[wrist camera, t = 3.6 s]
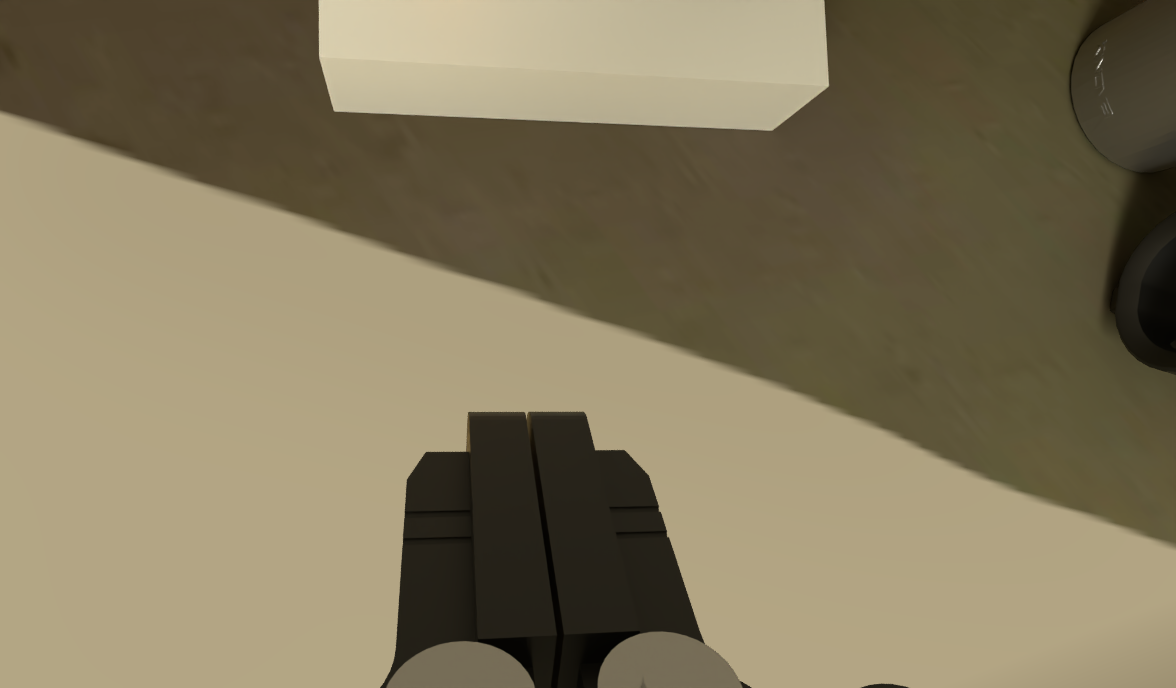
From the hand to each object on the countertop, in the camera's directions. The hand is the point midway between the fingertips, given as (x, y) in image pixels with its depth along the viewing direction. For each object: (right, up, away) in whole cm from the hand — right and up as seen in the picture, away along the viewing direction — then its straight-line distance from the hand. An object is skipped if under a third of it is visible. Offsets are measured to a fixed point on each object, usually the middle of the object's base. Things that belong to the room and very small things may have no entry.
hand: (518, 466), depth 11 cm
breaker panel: (0, +19, +30) cm, 35 cm away
